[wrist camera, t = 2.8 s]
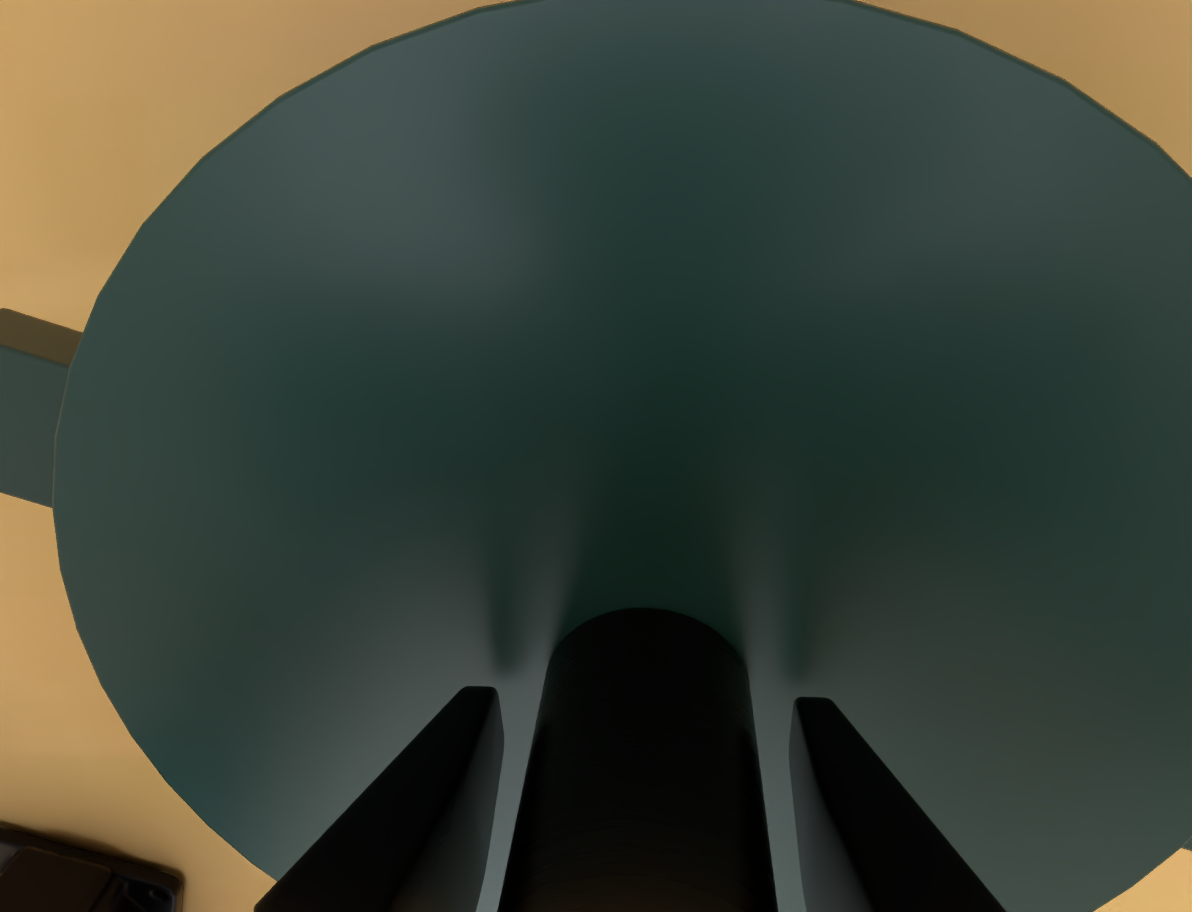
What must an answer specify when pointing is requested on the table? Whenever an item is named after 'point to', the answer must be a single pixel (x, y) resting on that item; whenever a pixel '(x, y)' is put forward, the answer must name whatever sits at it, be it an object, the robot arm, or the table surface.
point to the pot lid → (657, 450)
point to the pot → (38, 404)
